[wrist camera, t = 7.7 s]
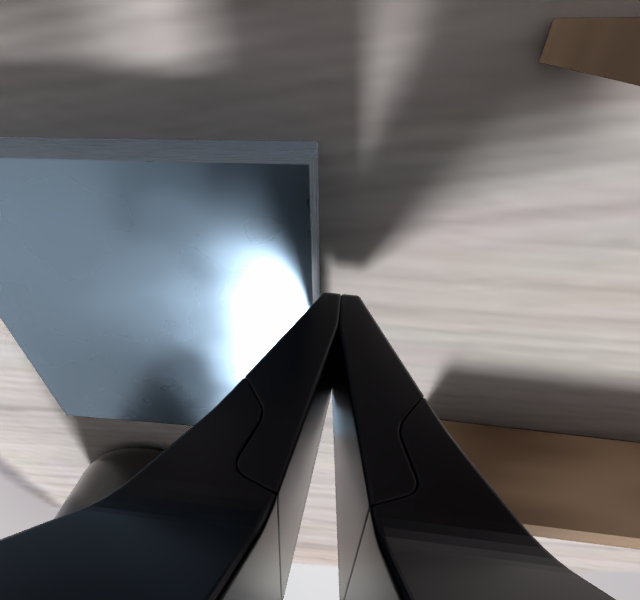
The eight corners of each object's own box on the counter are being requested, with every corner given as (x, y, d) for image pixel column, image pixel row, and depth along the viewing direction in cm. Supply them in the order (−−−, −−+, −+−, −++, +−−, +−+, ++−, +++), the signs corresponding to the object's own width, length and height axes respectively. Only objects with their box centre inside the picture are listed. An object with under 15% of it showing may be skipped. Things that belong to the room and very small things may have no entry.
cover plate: (320, 135, 8) (308, 164, 6) (322, 383, 13) (316, 435, 11) (-23, 130, 9) (-110, 156, 7) (101, 368, 14) (66, 415, 12)
